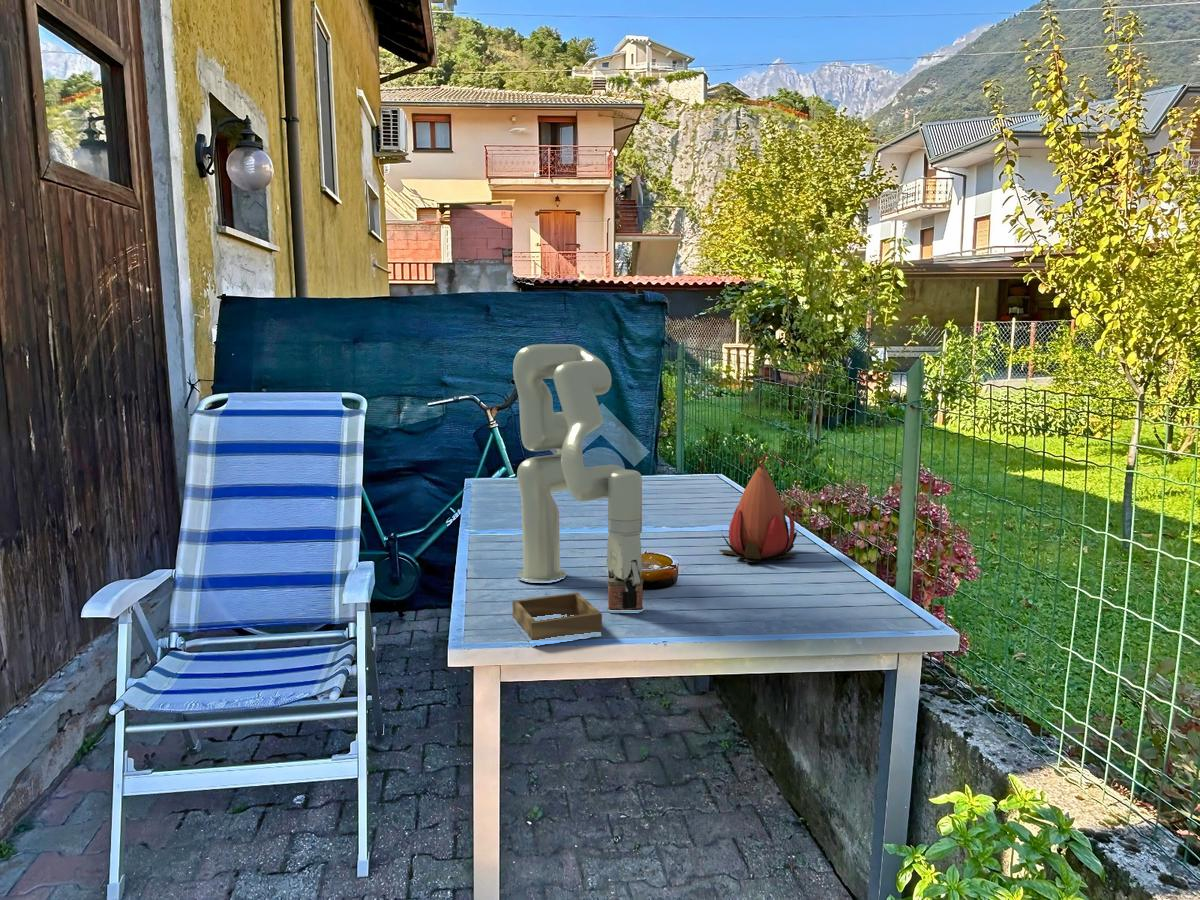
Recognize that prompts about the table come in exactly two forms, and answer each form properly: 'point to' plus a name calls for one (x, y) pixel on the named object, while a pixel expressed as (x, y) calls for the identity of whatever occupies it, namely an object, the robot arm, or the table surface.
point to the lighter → (616, 593)
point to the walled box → (569, 604)
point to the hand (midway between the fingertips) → (625, 603)
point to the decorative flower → (761, 521)
